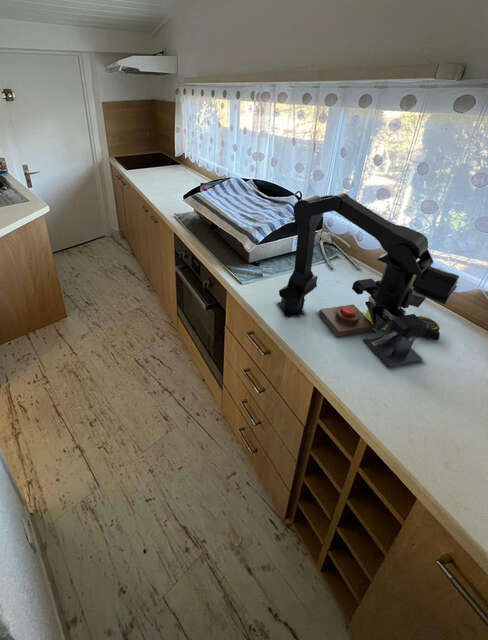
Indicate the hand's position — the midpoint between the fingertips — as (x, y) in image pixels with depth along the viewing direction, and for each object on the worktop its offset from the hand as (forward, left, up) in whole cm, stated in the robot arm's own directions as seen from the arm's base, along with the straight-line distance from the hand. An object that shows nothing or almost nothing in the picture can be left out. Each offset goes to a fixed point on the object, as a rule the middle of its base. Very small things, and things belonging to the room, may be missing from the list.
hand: (376, 329), depth 80 cm
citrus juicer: (+19, +40, -7) cm, 44 cm away
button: (+2, +13, -6) cm, 15 cm away
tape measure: (+22, +4, -10) cm, 25 cm away
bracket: (+8, 0, -10) cm, 13 cm away
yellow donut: (+12, +9, -5) cm, 16 cm away
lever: (+5, 0, -5) cm, 7 cm away
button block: (+2, +13, -10) cm, 17 cm away
